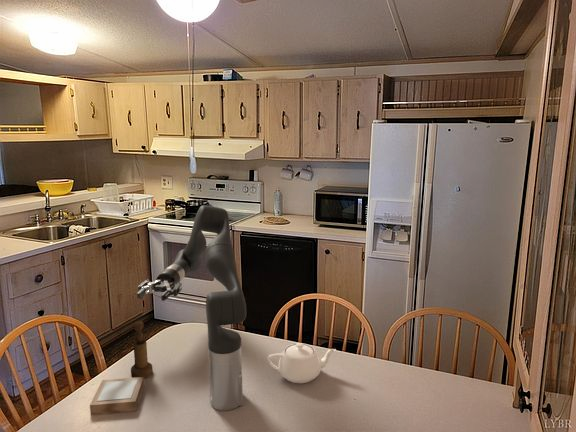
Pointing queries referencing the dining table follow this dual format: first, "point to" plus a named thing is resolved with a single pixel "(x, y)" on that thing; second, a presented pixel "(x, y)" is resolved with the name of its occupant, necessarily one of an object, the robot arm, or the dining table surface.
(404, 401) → the dining table surface
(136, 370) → the brown pepper mill
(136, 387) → the plinth
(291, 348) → the teapot
